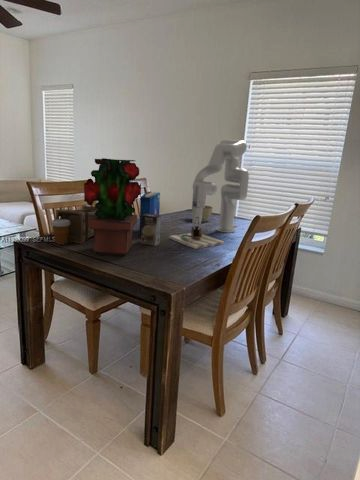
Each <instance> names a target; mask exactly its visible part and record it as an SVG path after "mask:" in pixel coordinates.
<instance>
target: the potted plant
mask: <svg viewBox="0 0 360 480" xmlns="http://www.w3.org/2000/svg"><path fill="white" fill-rule="evenodd" d="M135 162H136V160H134V159H114V158H103V157H102V158H94V163H95V164H96V165H99V166H98V169H95V170H94V169H93V170H91V171H90V175H91V177H94V179H92V178H88V179H87V180H86V182H84V183H83V190H84V191H83V197H84V199H83V200H84V202H86V203H87V206H92V205H94V207H96V208H97V209H99V210H97V211H96V212H95V216H93V217H92V218H90V219H89V220H88V228H94V235H93V252H98V254H99V255H100V254H102V255H103V256H116V257H117V256H118V257H124V255H125V254H128V252H129V250H130V249H131V248H132V246H133V228H134V227H135V226H136V224H137V223H138V214H134V213H135V212H136V208H135V207H133V205H134V203H135V201H136V199H138V198H139V197H141V196H142V182H140V183H139V182H138V181H135V180H136V179H137V177H138V176H140V168H139V167H138V166H137V164H136V163H135ZM94 202H96V203H95V204H94Z"/></svg>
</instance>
